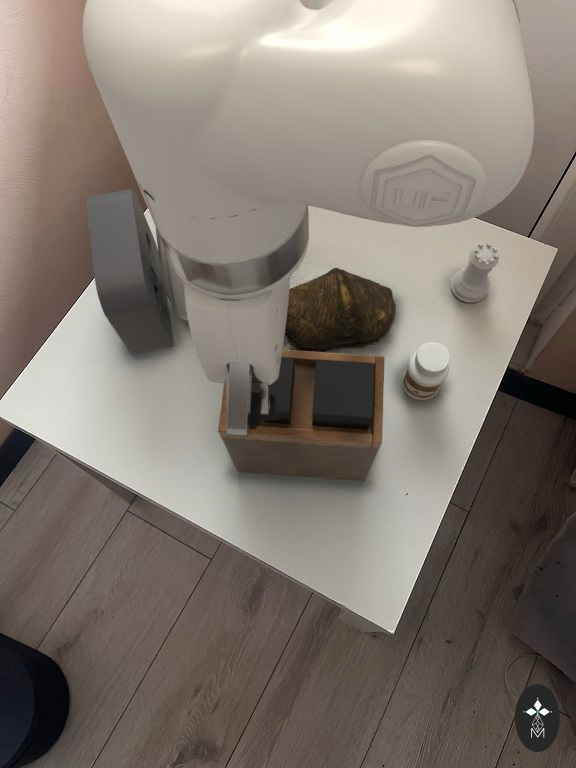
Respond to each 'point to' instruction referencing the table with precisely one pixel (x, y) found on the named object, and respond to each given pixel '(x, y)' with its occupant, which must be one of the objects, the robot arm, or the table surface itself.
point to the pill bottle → (426, 371)
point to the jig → (309, 431)
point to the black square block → (343, 394)
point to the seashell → (338, 312)
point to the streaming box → (128, 271)
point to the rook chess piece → (475, 274)
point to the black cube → (282, 390)
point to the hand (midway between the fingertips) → (262, 355)
